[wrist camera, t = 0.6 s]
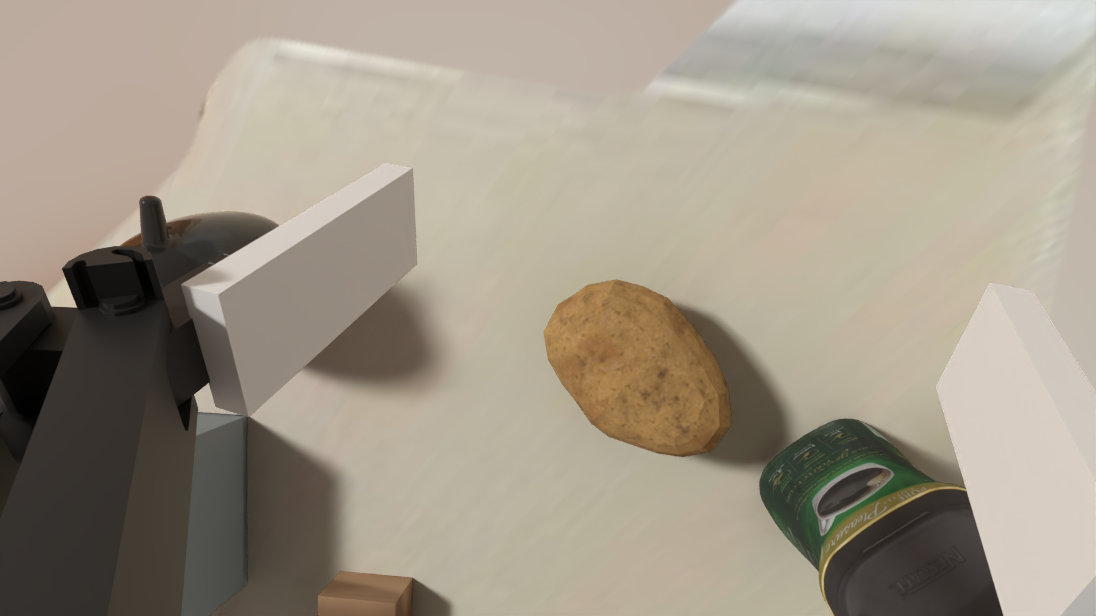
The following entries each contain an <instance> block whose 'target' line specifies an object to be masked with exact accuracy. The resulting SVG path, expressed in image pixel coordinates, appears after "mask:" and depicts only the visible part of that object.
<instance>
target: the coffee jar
mask: <svg viewBox="0 0 1096 616" xmlns="http://www.w3.org/2000/svg"><path fill="white" fill-rule="evenodd" d="M759 485H760V495H761V498H762V501H763V503H764V505H765V507H766V508H767V510H768V512H769V513H770V515H771V516H772V518H773V520H774V521H775V523H776V524H777V526H778V527H779V528H780V530H781V531H782V532H783V534H784V535H785V536H786V537H787V538H788V539H789V541H790V542H791V543H792V544H793V545H794V546H795V547H796V548H797V549H798V550H799V551H800V552H801V553H802V554H803V555H804V556H805V557H806V558H807V559H808V560H809V561H810V563H811V564H812V565H813V566H814V567H815V568H816V569H817V570H818V571H819V583H820V588H821V592H822V595H823V597H824V600H825V602H826V604H827V606H828V608H829V610H830V611H831V613H832V615H833V616H1003V612H1002V609H1001V606H1000V602H999V599H998V595H997V592H996V589H995V585H994V582H993V578H992V575H991V572H990V568H989V565H988V562H987V558H986V555H985V551H984V548H983V545H982V541H981V538H980V534H979V531H978V528H977V524H976V521H975V518H974V514H973V511H972V507H971V504H970V501H969V497H968V494H967V490H966V488H963V487H960V486H957V485H953V484H948V483H941V482H936V481H934V480H933V479H931V478H930V477H928V476H926V475H925V474H924V473H922V472H921V471H920V470H919V469H917V468H916V467H915V466H914V465H913V464H912V463H911V462H910V461H909V460H908V459H907V458H906V457H905V456H904V455H903V454H902V453H901V452H900V451H899V450H898V449H897V448H895V447H894V446H893V445H892V444H891V443H890V442H889V441H888V440H887V439H886V438H885V437H883V436H882V435H881V434H880V433H879V432H877V431H876V430H875V429H873V428H872V427H870V426H869V425H867V424H865V423H863V422H861V421H859V420H855V419H838V420H835V421H832V422H829V423H827V424H825V425H823V426H821V427H819V428H817V429H815V430H813V431H811V432H810V433H808V434H806V435H804V436H803V437H802V438H800V439H799V440H797V441H796V442H794V443H793V444H791V445H790V446H788V447H787V448H786V449H784V450H783V451H782V452H781V453H780V454H778V455H777V456H776V457H775V458H774V459H773V460H772V461H771V462H770V463H769V464H768V465H767V466H766V467H765V469H764V470H763V473H762V475H761V478H760V483H759Z"/></svg>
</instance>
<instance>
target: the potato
mask: <svg viewBox="0 0 1096 616" xmlns="http://www.w3.org/2000/svg"><path fill="white" fill-rule="evenodd" d="M544 338H545V344H546V350H547V356H548V360H549V362H550V364H551V365H552V367H553V369H554V371H555V372H556V374H557V376H558V378H559V379H560V381H561V383H562V384H563V385H564V387H565V388H566V389H567V391H568V392H569V393H570V395H571V396H572V397H573V398H574V400H575V401H576V402H577V404H578V405H579V407H580V408H581V410H582V411H583V412H584V414H585V415H586V417H587V418H588V420H589V421H590V423H591V424H593V425H594V426H595V427H597V428H598V429H599V430H601V431H602V432H603V433H605V434H606V435H607V436H609V437H611V438H614V439H617V440H620V441H623V442H626V443H628V444H631V445H634V446H637V447H640V448H643V449H646V450H649V451H652V452H655V453H659V454H666V455H672V456H679V457H685V456H690V455H696V454H701V453H706V452H711V451H712V450H714V448H715V447H716V446H717V444H718V443H719V441H720V440H721V439H722V437H723V436H724V434H725V433H726V432H727V430H728V429H729V427H730V426H731V424H732V417H731V408H730V399H729V389H728V386H727V383H726V381H725V379H724V377H723V374H722V372H721V370H720V368H719V366H718V363H717V361H716V359H715V358H714V356H713V355H712V353H711V352H710V350H709V349H708V347H707V346H706V344H705V343H704V341H703V340H702V338H701V337H700V335H699V334H698V333H697V331H696V330H695V329H694V328H693V326H692V325H691V324H690V323H689V321H688V320H687V319H686V318H685V317H684V315H683V314H682V313H681V312H680V311H679V310H678V309H677V308H676V307H675V306H674V305H673V303H672V302H671V301H670V300H669V299H668V298H666V297H664V296H662V295H660V294H658V293H656V292H654V291H652V290H650V289H647V288H645V287H643V286H639V285H636V284H632V283H628V282H624V281H620V280H612V281H607V282H601V283H596V284H590V285H587V286H586V287H584V288H583V289H581V290H580V291H579V292H577V293H576V294H574V295H573V296H571V297H569V298H568V299H566V300H565V301H563V302H561V303H560V304H558V306H557V308H556V309H555V311H554V313H553V315H552V317H551V319H550V321H549V323H548V325H547V327H546V329H545V331H544Z"/></svg>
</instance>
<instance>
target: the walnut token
mask: <svg viewBox="0 0 1096 616" xmlns="http://www.w3.org/2000/svg"><path fill="white" fill-rule="evenodd" d="M412 594H413V578H410V577H399V576H388V575H377V574H367V573H356V572H345V571H340V572H339V573H338V575H337V576H336V577H335V578H334V579H333V580H332V581H331V582H330V583H329V584H328V585H327V586H326V587H325V589H324V590H323V591H322V592H321V593H320V594H319V595H318V616H412Z"/></svg>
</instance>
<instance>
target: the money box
mask: <svg viewBox="0 0 1096 616" xmlns="http://www.w3.org/2000/svg"><path fill="white" fill-rule="evenodd" d="M246 584H247V417H246V416H243V415H232V414H216V413H201V412H198V416H197V428H196V441H195V453H194V465H193V477H192V489H191V501H190V514H189V526H188V538H187V550H186V562H185V574H184V587H183V599H182V611H181V616H209V615H210V614H212V613H213V612H214V611H215V610H216V609H217V608H219V607H220V606H221V605H222V604H223V603H225V602H226V601H227V600H228V599H229V598H230V597H232V596H233V595H234V594H235V593H236V592H238V591H239V590H240V589H241V588H242V587H244V586H245V585H246Z"/></svg>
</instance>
